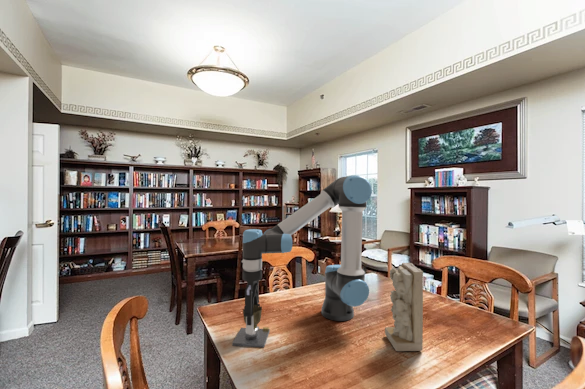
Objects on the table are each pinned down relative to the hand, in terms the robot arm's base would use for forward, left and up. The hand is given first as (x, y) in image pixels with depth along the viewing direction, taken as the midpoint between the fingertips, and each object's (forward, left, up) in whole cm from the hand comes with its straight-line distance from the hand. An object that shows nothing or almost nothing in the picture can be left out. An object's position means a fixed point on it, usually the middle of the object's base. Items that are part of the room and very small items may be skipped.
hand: (252, 327), depth 109 cm
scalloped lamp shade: (0, 0, 0) cm, 0 cm away
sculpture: (-58, -2, -4) cm, 58 cm away
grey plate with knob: (0, 0, -4) cm, 4 cm away
